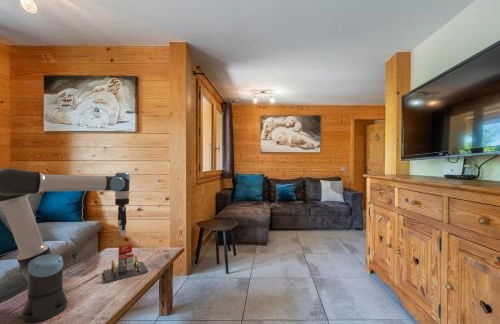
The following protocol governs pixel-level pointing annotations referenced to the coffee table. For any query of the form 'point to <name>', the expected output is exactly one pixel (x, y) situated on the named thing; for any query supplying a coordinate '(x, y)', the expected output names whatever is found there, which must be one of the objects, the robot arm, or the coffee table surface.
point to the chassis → (115, 275)
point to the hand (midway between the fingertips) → (121, 233)
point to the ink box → (125, 259)
